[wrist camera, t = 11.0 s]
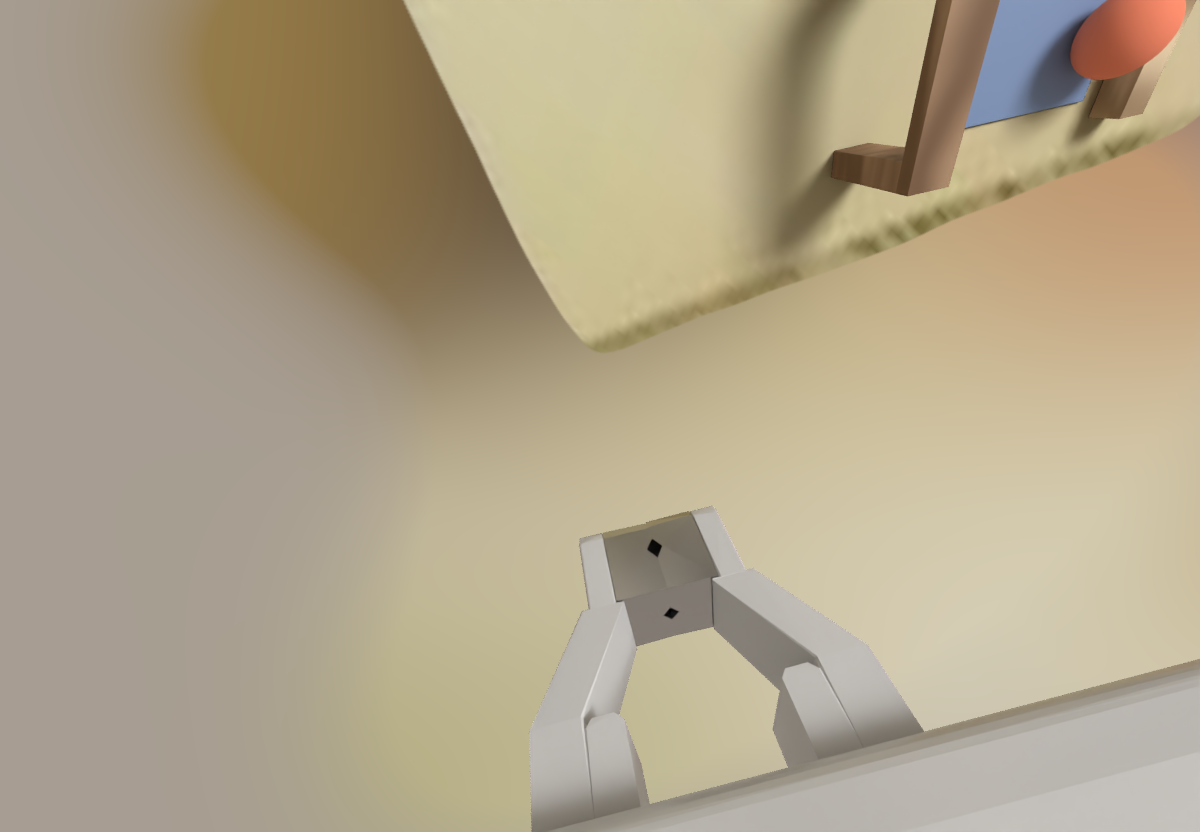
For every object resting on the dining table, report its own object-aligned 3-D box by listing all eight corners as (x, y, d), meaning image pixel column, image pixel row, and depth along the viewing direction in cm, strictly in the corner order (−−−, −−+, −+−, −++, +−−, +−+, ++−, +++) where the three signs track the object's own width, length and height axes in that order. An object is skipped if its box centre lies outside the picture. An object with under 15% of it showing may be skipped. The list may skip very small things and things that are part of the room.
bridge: (831, 177, 38) (907, 196, 31) (866, -97, 28) (989, -165, 21) (864, 169, 38) (948, 186, 31) (910, -107, 28) (1049, -178, 21)
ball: (1080, -2, 32) (1194, -18, 28) (1107, -18, 34) (1218, -35, 30) (1044, 90, 35) (1141, 87, 32) (1071, 71, 37) (1165, 66, 34)
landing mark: (990, -92, 29) (992, -93, 29) (1172, -132, 30) (1176, -133, 30) (935, 134, 37) (937, 134, 37) (1080, 100, 38) (1082, 100, 37)
